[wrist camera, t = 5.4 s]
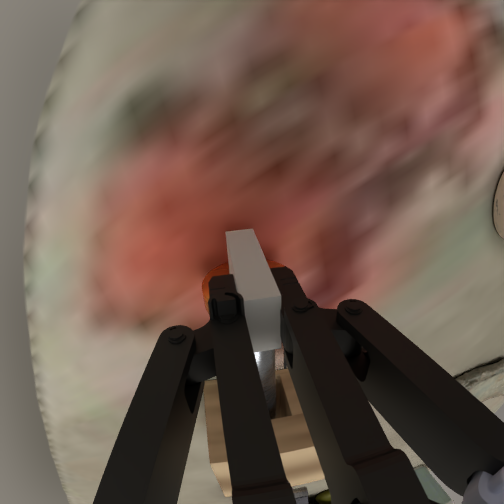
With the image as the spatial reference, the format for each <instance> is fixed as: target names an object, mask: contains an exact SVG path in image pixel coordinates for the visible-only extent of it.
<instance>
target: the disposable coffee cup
mask: <svg viewBox="0 0 504 504" xmlns="http://www.w3.org/2000/svg"><path fill="white" fill-rule="evenodd" d="M414 470H415V472H416V474H417V476H418V478H419V480H420V482H421V484H422V486H423V488H424V491H425V493H426V495H427V497H428V499H430V500H433V501H435V502H437V503H440V504H455V503H454V500H451V498H450V497H449V496H448V495H447V493H446V492H445V491H444V490H443V489H442V487H441V486H440V485H439V484H438V483H437V481H436V480H435V479H434V478H433V477H432V475H431V474H430V473H429V471H428V470H427V469H426V468H425V467H423V466H422V465H421V466H417V467H415V468H414Z"/></svg>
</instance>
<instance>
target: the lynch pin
mask: <svg viewBox="0 0 504 504" xmlns="http://www.w3.org/2000/svg"><path fill="white" fill-rule="evenodd" d="M266 261H267V263H268V266H269V268H276V267H284V266H283V265H282V264H279V263H277V262H274V261H270V260H266ZM228 274H230V273H229V263H228V262H227V263H225V264H222V265H220V266H218V267H216V268H214V269H213V270H211V271H210V272H209V273H208V274H207V275H206V276H205V278H204V280H203V282H202V291H203V296H204V302H205V307H206V310H207V312H208V313H209V307H208V300H209V286H208V282H209V281H210V279H211V278H212V276H220V275H228ZM254 355H255V359H256V363H257V367H258V371H259V375H260V379H261V383H262V387H263V391H264V395H265V399H266V402H267V406H268V410H269V414H270V418H271V420H272V419H275V417H276V377H275V349H273V350H267V351H261V352H254Z"/></svg>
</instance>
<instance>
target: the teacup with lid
mask: <svg viewBox="0 0 504 504" xmlns="http://www.w3.org/2000/svg"><path fill="white" fill-rule="evenodd" d="M493 217H494V224H495V228H496V230H497V232H498V234H499V235H500V236H501V237H502V238H503V239H504V172H503V174H502V176H501V178H500V181H499V183H498V186H497V190H496V194H495V199H494V208H493Z"/></svg>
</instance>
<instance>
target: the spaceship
mask: <svg viewBox="0 0 504 504" xmlns="http://www.w3.org/2000/svg"><path fill="white" fill-rule="evenodd" d="M315 499H316V501H317V502H318V503H321V504H331V495H330V491H329V490H326V491H323V492H321V493H320V494H318V495H317V497H316V498H315Z"/></svg>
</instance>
